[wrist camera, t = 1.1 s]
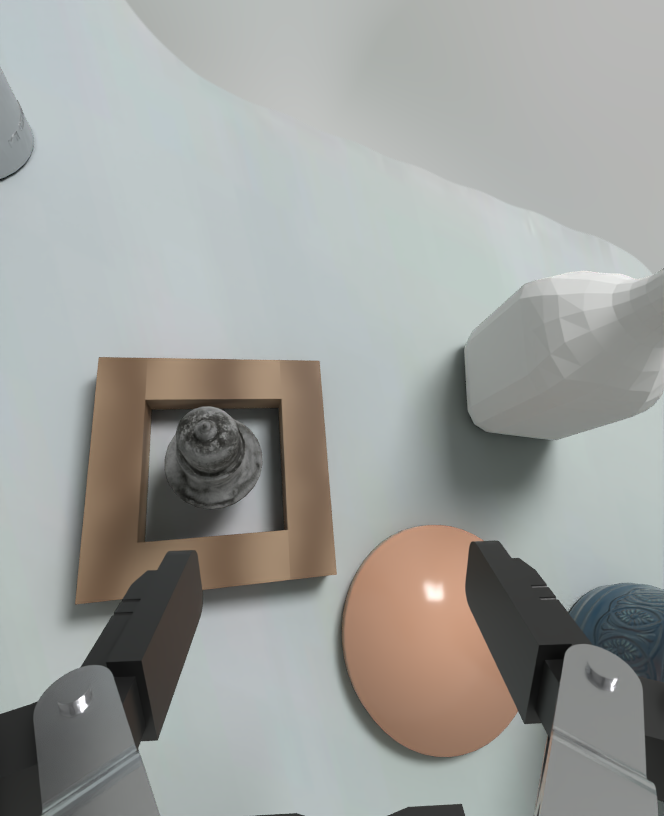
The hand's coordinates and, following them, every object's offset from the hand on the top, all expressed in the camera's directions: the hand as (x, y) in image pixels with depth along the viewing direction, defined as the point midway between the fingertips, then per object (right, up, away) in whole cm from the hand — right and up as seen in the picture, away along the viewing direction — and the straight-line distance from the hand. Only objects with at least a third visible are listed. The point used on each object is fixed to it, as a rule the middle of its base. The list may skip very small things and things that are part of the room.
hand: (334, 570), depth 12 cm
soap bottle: (+16, +6, +24) cm, 30 cm away
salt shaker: (-8, 0, +17) cm, 19 cm away
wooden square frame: (-8, 0, +16) cm, 18 cm away
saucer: (+7, -11, +16) cm, 21 cm away
